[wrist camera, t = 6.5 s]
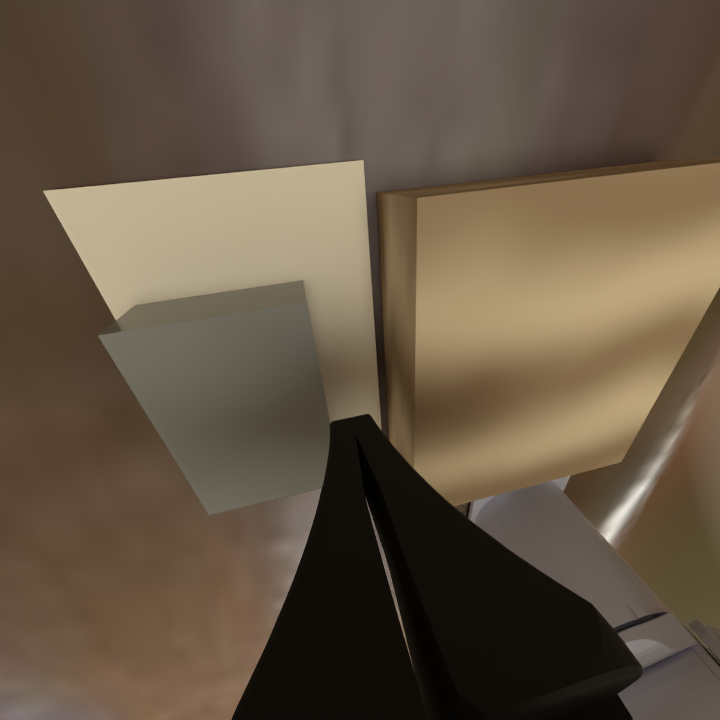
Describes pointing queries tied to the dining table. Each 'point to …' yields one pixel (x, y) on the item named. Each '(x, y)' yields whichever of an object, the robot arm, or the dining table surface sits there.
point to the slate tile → (230, 390)
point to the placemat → (243, 253)
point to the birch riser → (540, 316)
